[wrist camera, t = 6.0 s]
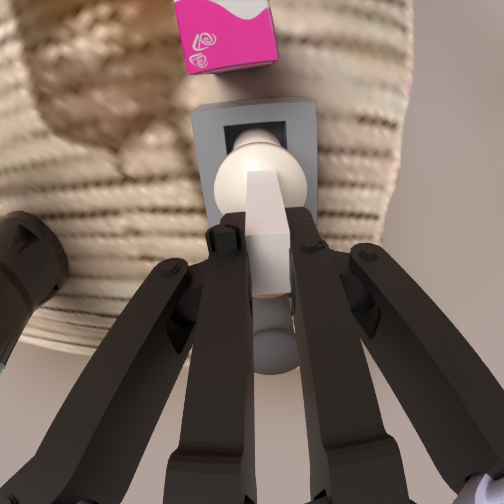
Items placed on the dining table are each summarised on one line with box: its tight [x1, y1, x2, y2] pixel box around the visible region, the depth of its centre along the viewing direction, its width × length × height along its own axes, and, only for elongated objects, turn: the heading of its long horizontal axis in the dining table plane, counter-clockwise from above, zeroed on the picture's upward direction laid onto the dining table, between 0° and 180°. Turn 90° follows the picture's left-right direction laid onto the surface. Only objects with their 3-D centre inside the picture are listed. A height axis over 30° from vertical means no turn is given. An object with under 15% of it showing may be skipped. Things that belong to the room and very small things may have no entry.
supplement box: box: [174, 0, 279, 75], centre depth 18 cm, size 6×6×12 cm
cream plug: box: [214, 127, 307, 216], centre depth 20 cm, size 5×5×9 cm
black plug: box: [252, 293, 300, 375], centre depth 27 cm, size 5×5×9 cm
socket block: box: [190, 97, 317, 307], centre depth 29 cm, size 10×22×6 cm, turn 5°
